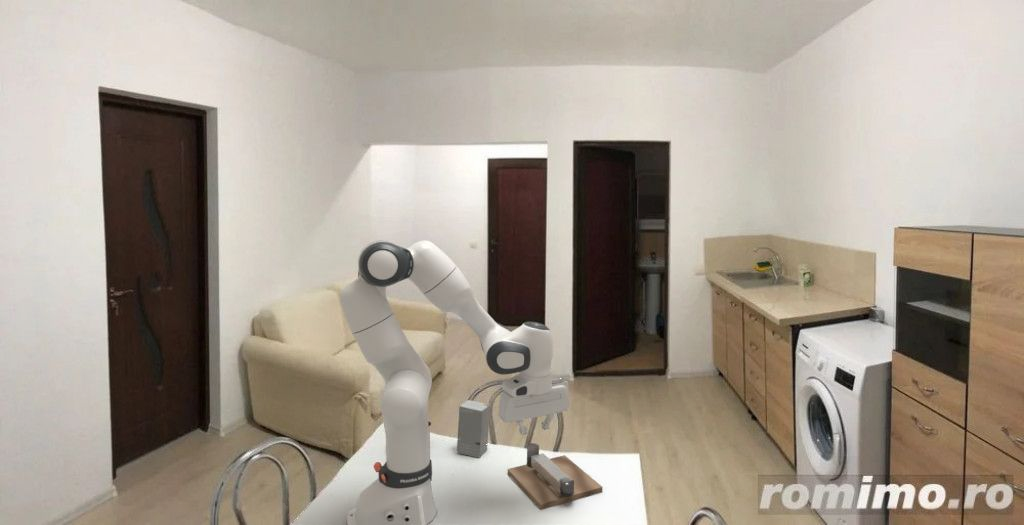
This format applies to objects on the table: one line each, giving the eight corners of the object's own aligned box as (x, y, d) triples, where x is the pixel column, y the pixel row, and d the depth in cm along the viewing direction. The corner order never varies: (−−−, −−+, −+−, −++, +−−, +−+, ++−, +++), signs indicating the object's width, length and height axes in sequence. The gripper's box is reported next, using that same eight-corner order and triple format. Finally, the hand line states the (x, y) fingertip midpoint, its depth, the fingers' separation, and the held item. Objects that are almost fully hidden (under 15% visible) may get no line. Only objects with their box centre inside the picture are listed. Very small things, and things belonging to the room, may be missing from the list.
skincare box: (456, 453, 172) (456, 406, 170) (466, 444, 179) (466, 398, 177) (480, 459, 169) (480, 411, 167) (489, 449, 176) (490, 402, 174)
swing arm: (531, 465, 160) (531, 456, 159) (542, 462, 162) (543, 453, 161) (564, 497, 143) (564, 487, 143) (576, 494, 145) (577, 483, 145)
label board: (540, 509, 143) (541, 483, 142) (506, 472, 161) (506, 448, 160) (602, 491, 152) (603, 466, 151) (563, 458, 170) (563, 436, 169)
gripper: (562, 373, 152) (560, 419, 154) (496, 383, 143) (495, 433, 144) (574, 380, 146) (573, 428, 148) (507, 392, 137) (506, 443, 139)
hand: (534, 431), depth 146 cm, fingers open, 5 cm apart
